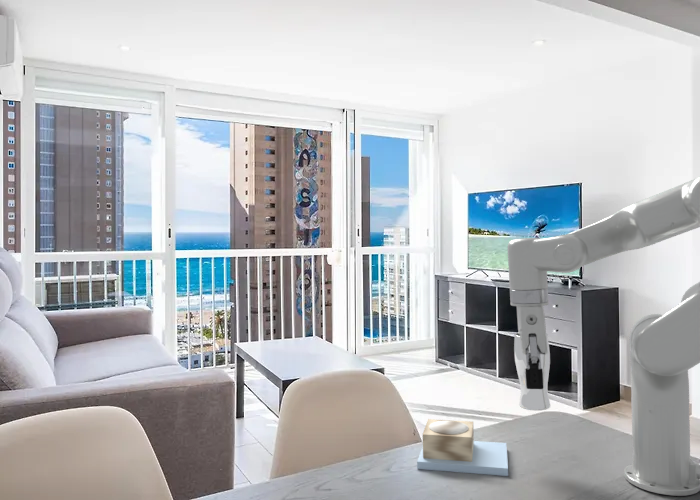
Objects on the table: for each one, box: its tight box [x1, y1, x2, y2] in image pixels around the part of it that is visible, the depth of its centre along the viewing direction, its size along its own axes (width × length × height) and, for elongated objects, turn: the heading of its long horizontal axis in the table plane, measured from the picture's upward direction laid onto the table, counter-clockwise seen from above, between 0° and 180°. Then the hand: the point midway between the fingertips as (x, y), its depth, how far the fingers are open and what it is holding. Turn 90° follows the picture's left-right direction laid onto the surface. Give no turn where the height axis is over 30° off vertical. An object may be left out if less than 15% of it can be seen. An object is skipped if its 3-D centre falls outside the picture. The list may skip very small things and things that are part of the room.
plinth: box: [422, 418, 475, 462], centre depth 117 cm, size 10×10×5 cm
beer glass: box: [513, 332, 551, 411], centre depth 112 cm, size 7×7×15 cm
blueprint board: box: [416, 440, 509, 477], centre depth 116 cm, size 18×14×2 cm
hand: (533, 383), depth 112 cm, fingers closed on beer glass, 6 cm apart
